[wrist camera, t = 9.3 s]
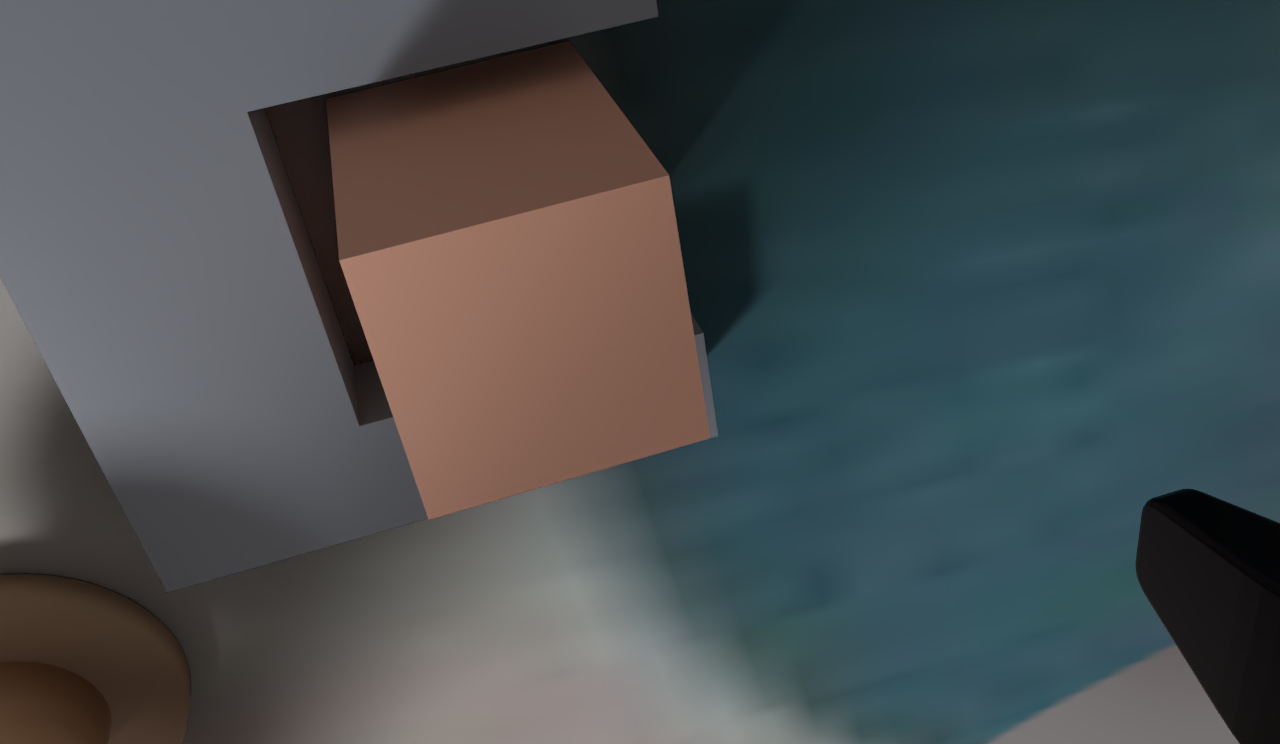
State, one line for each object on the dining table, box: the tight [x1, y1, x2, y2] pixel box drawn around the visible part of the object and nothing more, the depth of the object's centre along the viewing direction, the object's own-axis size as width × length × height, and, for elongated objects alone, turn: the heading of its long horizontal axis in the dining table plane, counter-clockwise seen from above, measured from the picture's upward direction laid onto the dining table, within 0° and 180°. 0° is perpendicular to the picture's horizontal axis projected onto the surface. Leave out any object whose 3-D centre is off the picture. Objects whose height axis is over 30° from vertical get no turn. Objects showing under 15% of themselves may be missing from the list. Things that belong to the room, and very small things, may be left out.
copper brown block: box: [326, 41, 710, 520], centre depth 17 cm, size 4×4×6 cm
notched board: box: [0, 0, 718, 593], centre depth 18 cm, size 10×10×2 cm
